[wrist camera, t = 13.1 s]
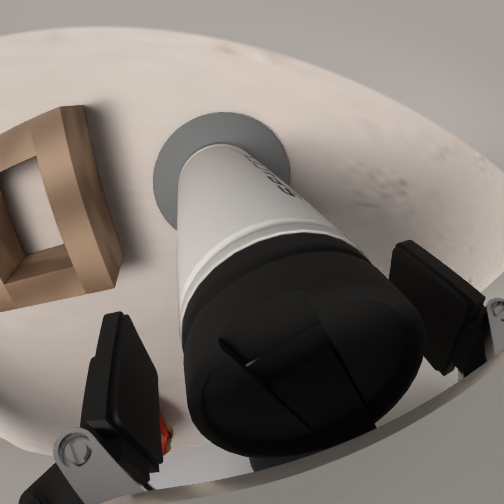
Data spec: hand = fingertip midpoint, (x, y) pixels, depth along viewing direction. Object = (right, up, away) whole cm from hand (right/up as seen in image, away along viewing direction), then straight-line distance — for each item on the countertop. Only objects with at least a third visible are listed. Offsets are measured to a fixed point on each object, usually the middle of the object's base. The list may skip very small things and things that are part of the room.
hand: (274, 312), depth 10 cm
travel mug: (-3, +7, +14) cm, 16 cm away
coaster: (-3, +8, +14) cm, 16 cm away
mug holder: (-19, +6, +11) cm, 23 cm away
